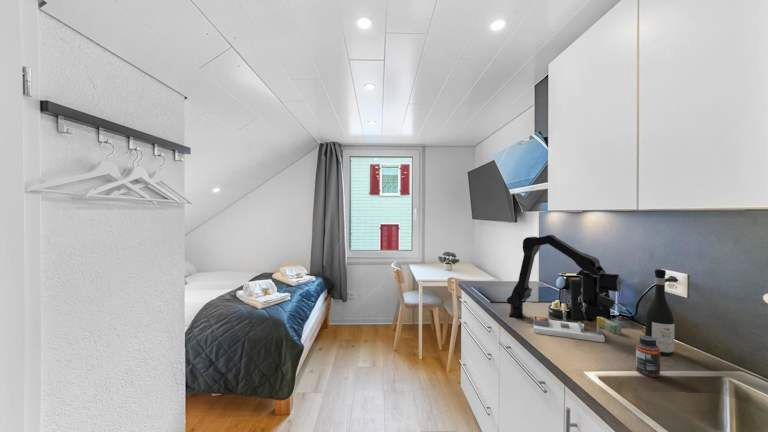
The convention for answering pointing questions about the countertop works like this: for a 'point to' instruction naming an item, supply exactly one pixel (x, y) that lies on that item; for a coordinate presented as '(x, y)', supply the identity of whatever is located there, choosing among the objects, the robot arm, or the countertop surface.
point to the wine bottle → (660, 317)
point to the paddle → (590, 326)
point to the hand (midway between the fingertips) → (589, 324)
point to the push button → (540, 318)
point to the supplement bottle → (648, 357)
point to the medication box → (609, 325)
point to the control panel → (567, 330)
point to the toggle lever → (564, 315)
